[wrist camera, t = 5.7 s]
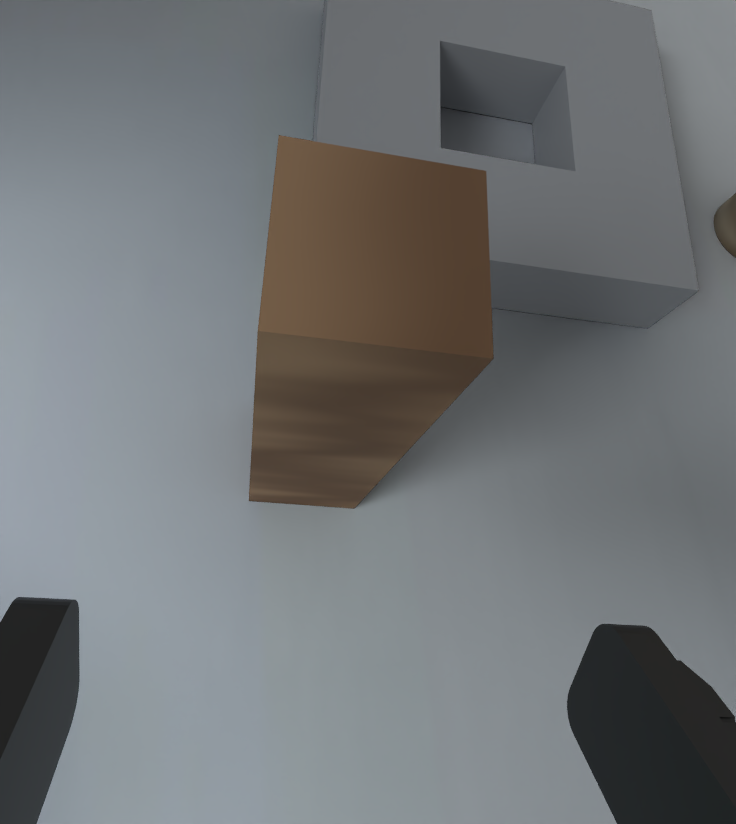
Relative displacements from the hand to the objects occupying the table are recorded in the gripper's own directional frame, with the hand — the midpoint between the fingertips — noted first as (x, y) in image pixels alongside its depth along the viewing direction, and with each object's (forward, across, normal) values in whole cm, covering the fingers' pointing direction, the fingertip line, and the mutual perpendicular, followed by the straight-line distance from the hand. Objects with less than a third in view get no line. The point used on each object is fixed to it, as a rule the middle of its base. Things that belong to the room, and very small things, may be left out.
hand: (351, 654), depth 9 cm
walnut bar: (+11, 0, -2) cm, 11 cm away
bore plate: (+20, +6, +8) cm, 22 cm away
